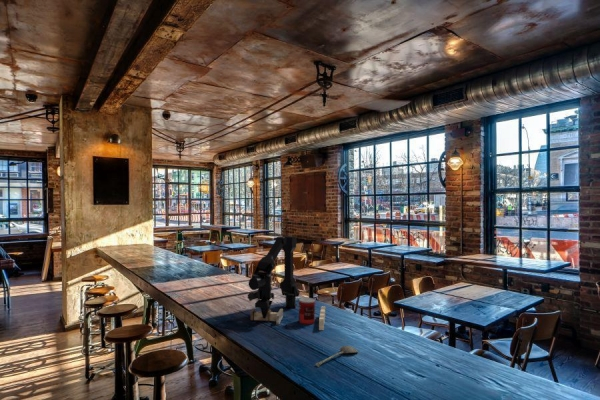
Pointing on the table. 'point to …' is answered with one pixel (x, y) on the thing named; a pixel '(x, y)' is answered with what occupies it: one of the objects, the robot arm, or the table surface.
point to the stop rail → (322, 318)
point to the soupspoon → (343, 350)
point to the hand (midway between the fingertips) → (264, 317)
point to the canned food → (306, 311)
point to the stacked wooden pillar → (267, 316)
